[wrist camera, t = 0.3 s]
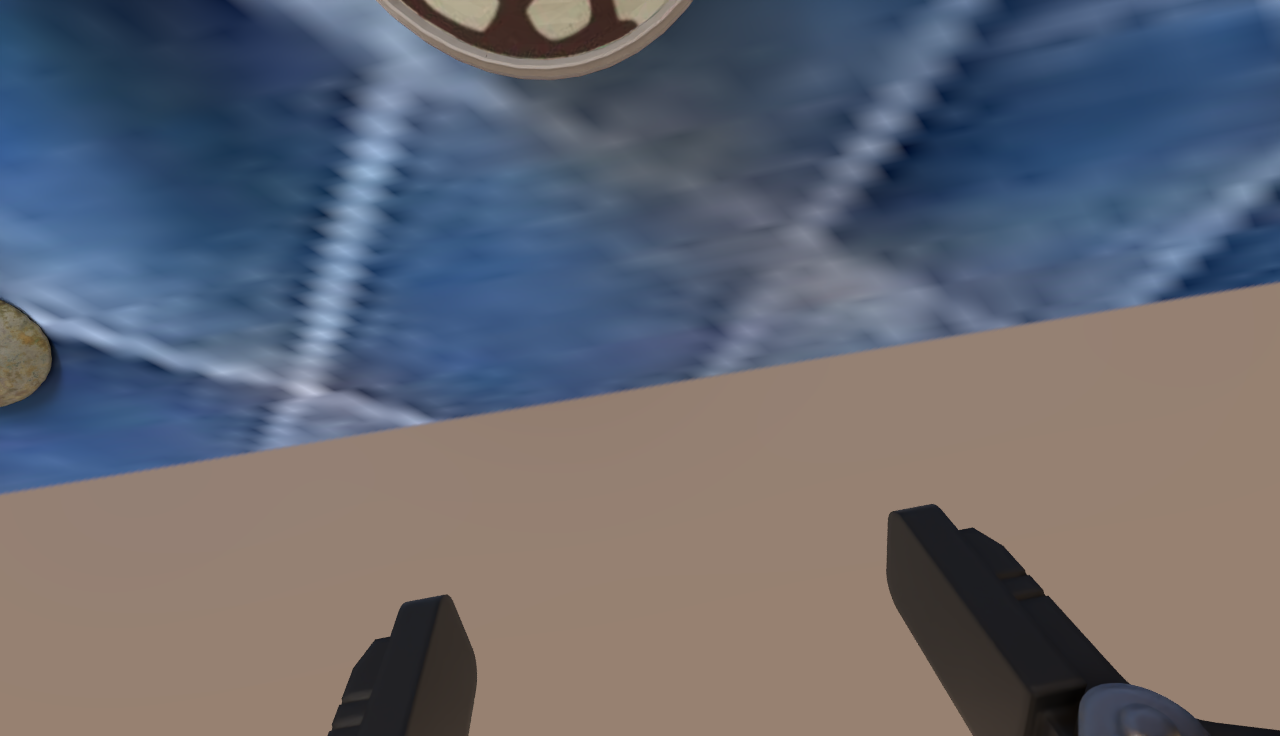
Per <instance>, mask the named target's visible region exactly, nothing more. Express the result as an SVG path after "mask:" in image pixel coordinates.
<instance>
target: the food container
mask: <svg viewBox="0 0 1280 736" xmlns="http://www.w3.org/2000/svg"><path fill="white" fill-rule="evenodd" d="M376 1H377V2H378V3H379V4H380V5H381V6H382V7H383V8H384V9H385V10H386V11H387V12H388V13H389V14H390V15H391V16H393V17H394V18H395V19H396V20H398V21H399V22H400V23H401V24H403V25H404V26H405V27H407V28H408V29H409V30H411V31H412V32H413V33H415V34H416V35H417V36H419V37H420V38H421V39H423V40H424V41H425V42H427V43H428V44H430V45H432V46H433V47H435V48H437V49H439V50H440V51H442V52H444V53H446V54H448V55H449V56H451V57H453V58H455V59H456V60H458V61H461V62H464V63H466V64H469V65H471V66H474V67H477V68H479V69H482V70H485V71H487V72H490V73H495V74H500V75H504V76H509V77H514V78H519V79H536V80H556V79H564V78H571V77H578V76H583V75H587V74H590V73H593V72H596V71H599V70H602V69H605V68H609V67H611V66H613V65H615V64H617V63H619V62H621V61H623V60H625V59H627V58H628V57H630V56H632V55H634V54H636V53H638V52H639V51H641V50H642V49H643V48H645V47H646V46H647V45H649V44H650V43H651V42H653V41H654V40H655V39H657V38H658V37H659V36H660V35H662V34H663V33H664V32H665V31H666V30H667V29H668V28H669V27H670V26H671V25H672V24H673V23H674V22H675V21H676V20H677V19H678V18H679V17H680V16H681V15H682V13H683V12H684V11H685V10H686V9H687V8H688V7H689V5H690V4H691V2H692V1H693V0H376Z"/></svg>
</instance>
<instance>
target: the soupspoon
mask: <svg viewBox="0 0 1280 736" xmlns="http://www.w3.org/2000/svg"><path fill="white" fill-rule="evenodd" d="M51 360H52V357H51V347H50V344H49V340H48V338H47V337H46V336H45V334H44V333H43V332H42V330H41V328H40V327H39V326H38V325H37V324H36V323H34V322H33V321H31V320H29V318H28V316H27V315H26V314H23V313H22V312H20V311H19V310H18V309H16V308H14V307H13V306H11V305H9V304H7V303H5V302H4V301H2V300H0V407H2V406H7V405H9V404H12V403H15V402H18V401H21V400H22V399H25V398H26V397H28V396H29V395H31V394H32V393H33V392H35V390H37V388H38V387H39V386H41V383H42V382H43V381H45V380H46V378H47V375H48V373H49V371H50V368H51V362H52V361H51Z"/></svg>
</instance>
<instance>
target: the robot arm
mask: <svg viewBox="0 0 1280 736" xmlns="http://www.w3.org/2000/svg"><path fill="white" fill-rule="evenodd" d="M887 537H888V538H887V569H886V572H887V573H886V574H887V582H888V586H889V590H890V593H891V596H892V599H893V601H894V604H895V606H896V608H897V609H898V611H899V613H900V615H901V616H902V618H903V620H904V621H905V623H906V625H907V626H908V628H909V630H910V631H911V633H912V635H913V636H914V638H915V640H916V641H917V643H918V645H919V646H920V648H921V650H922V651H923V653H924V655H925V656H926V658H927V660H928V661H929V663H930V665H931V666H932V668H933V670H934V671H935V673H936V675H937V676H938V678H939V680H940V681H941V683H942V685H943V686H944V688H945V690H946V691H947V693H948V695H949V696H950V698H951V700H952V701H953V703H954V705H955V706H956V708H957V710H958V711H959V713H960V715H961V716H962V718H963V720H964V721H965V723H966V725H967V726H968V728H969V730H970V731H971V733H972V735H973V736H1280V731H1279V730H1272V729H1263V728H1254V727H1247V726H1239V725H1230V724H1223V723H1215V722H1209V721H1203V720H1199V719H1196V718H1194V717H1193V716H1192V715H1191V714H1190V713H1189V712H1187V711H1186V710H1185V709H1183V708H1182V707H1180V706H1179V705H1178V704H1176V703H1174V702H1173V701H1171V700H1169V699H1168V698H1166V697H1164V696H1162V695H1160V694H1158V693H1156V692H1153V691H1150V690H1148V689H1145V688H1142V687H1138V686H1135V685H1131V684H1129V683H1128V682H1127V681H1126V680H1125V679H1124V678H1123V677H1122V676H1121V675H1120V674H1119V673H1118V672H1117V671H1116V670H1115V669H1114V668H1113V666H1112V665H1111V664H1110V663H1109V662H1108V661H1107V660H1106V659H1105V658H1104V657H1103V655H1102V654H1101V653H1100V652H1099V651H1098V650H1097V649H1096V648H1095V647H1094V646H1093V644H1092V643H1091V642H1090V641H1089V640H1088V639H1087V638H1086V637H1085V636H1084V634H1083V633H1081V631H1080V630H1079V629H1078V628H1077V627H1076V626H1075V625H1074V623H1073V622H1072V621H1071V620H1070V619H1069V618H1068V617H1067V616H1066V615H1065V614H1064V612H1063V611H1062V610H1061V609H1060V608H1059V607H1058V606H1057V605H1056V604H1055V603H1054V601H1053V600H1052V599H1051V598H1050V597H1049V596H1045V594H1044V592H1043V589H1042V588H1041V587H1040V586H1039V585H1038V584H1037V583H1036V582H1035V581H1034V579H1033V578H1032V577H1031V576H1030V575H1027V574H1026V573H1025V570H1024V568H1023V567H1022V566H1021V565H1020V564H1019V563H1018V562H1017V561H1016V560H1015V558H1013V556H1012V555H1011V554H1010V553H1009V552H1008V551H1007V550H1006V549H1005V548H1004V546H1002V545H1001V544H999V543H997V542H996V541H994V540H993V539H991V538H989V537H988V536H986V535H984V534H983V533H981V532H979V531H977V530H976V529H974V528H968V529H963V530H958V529H957V528H956V527H955V525H954V524H953V523H952V522H951V521H950V519H949V518H948V517H947V516H946V515H945V513H944V512H943V511H942V510H941V509H940V508H939V507H938V506H936V505H934V504H930V505H924V506H919V507H914V508H909V509H903V510H898V511H893V512H891V513H890V514H889V517H888V536H887ZM476 685H477V668H476V660H475V655H474V651H473V648H472V646H471V644H470V641H469V639H468V636H467V634H466V632H465V629H464V627H463V625H462V622H461V620H460V617H459V615H458V612H457V610H456V608H455V605H454V603H453V601H452V599H451V597H450V596H448V595H441V596H436V597H430V598H425V599H420V600H415V601H409V602H405V603H404V604H403V605H402V606H401V608H400V610H399V612H398V615H397V618H396V621H395V624H394V627H393V630H392V633H391V636H390V637H386V638H381V639H375V641H374V642H373V643H372V644H371V646H370V647H369V648H368V650H367V651H366V652H365V654H364V655H363V656H362V657H361V659H360V660H359V661H358V663H357V664H356V665H355V667H354V668H353V670H352V673H351V676H350V678H349V681H348V684H347V686H346V689H345V692H344V694H343V697H342V705H339V707H338V710H337V713H336V715H335V718H334V720H333V723H332V731H329V733H328V736H468V734H469V728H470V722H471V716H472V710H473V704H474V698H475V692H476Z"/></svg>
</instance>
